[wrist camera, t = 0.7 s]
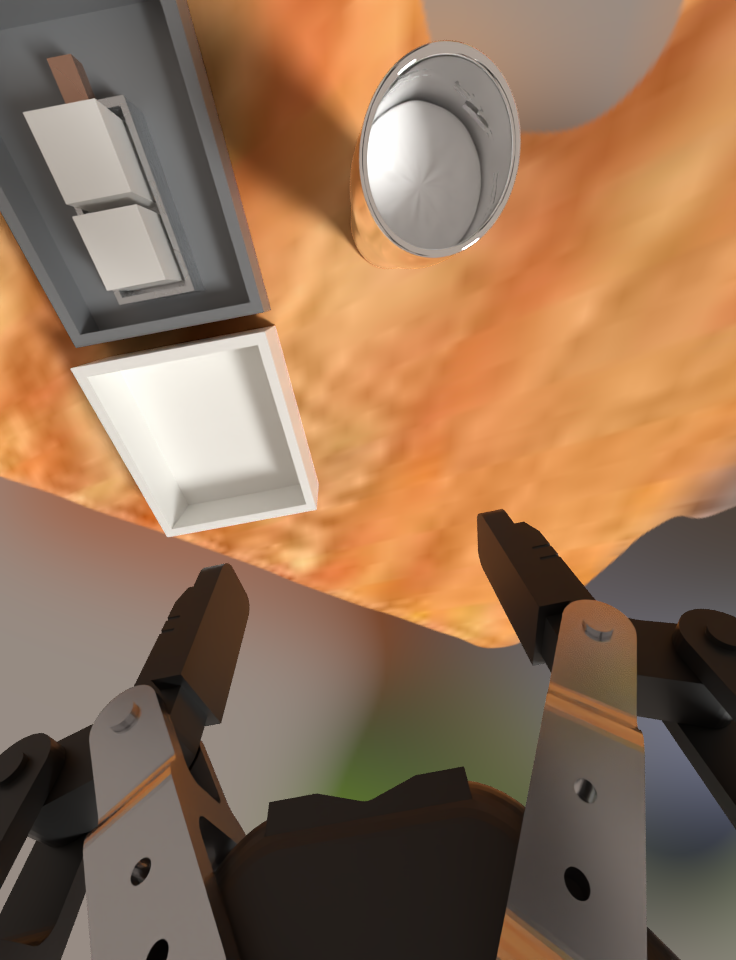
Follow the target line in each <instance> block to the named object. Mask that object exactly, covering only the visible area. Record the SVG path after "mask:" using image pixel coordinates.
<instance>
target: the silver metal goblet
mask: <svg viewBox="0 0 736 960" xmlns="http://www.w3.org/2000/svg"><path fill="white" fill-rule="evenodd" d="M520 149H521V132H520V122H519V116H518V110H517V106H516V102H515V100H514V96H513V94H512V91H511V89H510V86H509V84H508V82H507V80H506V79H505V77H504V76H503V74H502V72H501V71H500V69H499V68H498V67H497V66H496V64H495V63H494V62H493V61H492V60H491V59H490V58H489V57H488V56H487V55H485V54H484V53H483V52H481V51H480V50H478V49H477V48H475V47H473V46H471V45H468V44H465V43H462V42H458V41H450V40H445V41H444V40H443V41H435V42H431V43H427V44H424V45H422V46H419V47H417V48H415V49H414V50H412V51H410V52H409V53H407V54H406V55H405V56H403V57H402V58H401V59H400V60H399V61H398V62H397V63H395V64H394V66H393V67H392V68H391V69H390V70H389V71H388V72H387V74H386V75H385V76H384V78H383V79H382V81H381V82H380V84H379V85H378V87H377V89H376V91H375V93H374V95H373V97H372V99H371V101H370V103H369V106H368V109H367V112H366V115H365V118H364V122H363V125H362V127H361V130H360V133H359V136H358V139H357V142H356V146H355V150H354V154H353V159H352V164H351V171H350V204H351V220H350V223H351V232H352V237H353V240H354V243H355V245H356V247H357V249H358V251H359V252H360V254H361V255H362V256H363V257H364V258H365V259H366V260H367V261H368V262H369V263H371V264H372V265H374V266H376V267H379V268H383V269H395V268H403V269H420V268H426V267H430V266H433V265H436V264H438V263H441V262H443V261H445V260H447V259H449V258H451V257H453V256H454V255H456V254H458V253H460V252H462V251H464V250H466V249H467V248H469V247H471V246H472V245H473V244H475V243H476V242H477V241H479V240H480V239H481V238H482V237H483V236H484V235H485V234H486V233H487V232H488V231H489V230H490V228H491V227H492V226H493V225H494V223H495V222H496V221H497V219H498V218H499V216H500V214H501V213H502V211H503V209H504V207H505V206H506V204H507V201H508V199H509V197H510V194H511V192H512V189H513V186H514V183H515V179H516V175H517V171H518V166H519V159H520Z"/></svg>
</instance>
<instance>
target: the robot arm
mask: <svg viewBox="0 0 736 960" xmlns="http://www.w3.org/2000/svg"><path fill="white" fill-rule="evenodd" d="M477 531H478V554H479V558H480V562H481V565H482V568H483V570H484V572H485V574H486V576H487V578H488V580H489V582H490V583H491V585H492V587H493V589H494V591H495V593H496V595H497V597H498V599H499V601H500V603H501V605H502V607H503V609H504V611H505V613H506V615H507V617H508V619H509V621H510V623H511V624H512V626H513V628H514V630H515V632H516V634H517V636H518V638H519V640H520V642H521V644H522V646H523V648H524V650H525V652H526V654H527V656H528V657H529V659H530V662H531V663H532V665H539V664H544V663H546V665H547V666H548V668H549V670H550V672H551V678H550V683H549V689H548V692H547V697H546V702H545V707H544V712H543V718H542V723H541V728H540V733H539V739H538V744H537V749H536V755H535V760H534V765H533V770H532V776H531V781H530V786H529V791H528V797H527V802H526V807H524V806H523V805H522V804H521V803H519V802H518V801H517V800H515V799H513V798H512V797H510V796H508V795H507V794H506V793H504V792H502V791H499V790H497V789H495V788H493V787H491V786H488V785H485V784H481V783H478V782H472V781H468V780H467V776H466V772H465V769H464V767H458V768H453V769H447V770H442V771H437V772H431V773H426V774H421V775H415V776H414V777H412V778H410V779H408V780H406V781H405V782H403V783H401V784H399V785H397V786H395V787H394V788H392V789H390V790H388V791H387V792H385V793H383V794H381V795H379V796H377V797H376V798H374V799H372V800H369V801H357V800H351V799H345V798H340V797H334V796H328V795H322V794H312V795H306V796H301V797H296V798H290V799H285V800H279V801H274V802H270V803H269V809H268V817H267V820H266V821H265V822H263V823H261V824H260V825H259V826H257V827H256V828H254V829H253V830H252V831H251V832H250V833H248V834H247V835H246V834H245V832H244V831H243V829H242V827H241V825H240V824H239V822H238V821H237V819H236V818H235V816H234V814H233V813H232V811H231V809H230V807H229V805H228V803H227V800H226V798H225V795H224V793H223V790H222V788H221V785H220V783H219V781H218V778H217V775H216V773H215V770H214V768H213V766H212V763H211V761H210V758H209V756H208V753H207V751H206V748H205V746H204V744H203V742H202V741H201V737H202V733H203V730H204V726H209V725H215V724H220V723H221V721H222V717H223V713H224V710H225V706H226V702H227V698H228V694H229V690H230V686H231V682H232V678H233V674H234V670H235V667H236V663H237V659H238V654H239V651H240V647H241V643H242V639H243V635H244V631H245V628H246V623H247V620H248V616H249V600H248V597H247V594H246V592H245V590H244V588H243V586H242V584H241V583H240V581H239V579H238V577H237V575H236V573H235V572H234V570H233V568H232V566H231V565H230V564H228V563H226V564H221V565H216V566H211V567H206V568H203V569H202V570H201V572H200V573H199V576H198V578H197V580H196V582H195V584H194V587H189V588H188V589H187V590H186V591H185V592H184V593H183V594H182V595H181V597H180V598H179V599H178V600H177V601H176V602H175V604H174V606H173V608H172V610H171V612H170V615H169V616H168V621H166V622H165V624H164V627H163V628H162V633H161V634H159V637H158V639H157V641H156V643H155V645H154V647H153V649H152V651H151V653H150V655H149V657H148V659H147V661H146V663H145V665H144V667H143V669H142V671H141V673H140V675H139V677H138V679H137V681H136V683H135V685H134V687H132V688H129V689H127V690H125V691H124V692H122V693H120V694H119V695H118V696H116V697H115V698H114V699H113V700H112V701H110V702H109V704H107V706H106V707H105V708H104V709H103V710H102V711H101V713H100V714H99V715H98V717H97V718H96V720H95V722H94V724H92V725H90V726H88V727H86V728H84V729H82V730H80V731H78V732H76V733H74V734H72V735H70V736H68V737H66V738H64V739H62V740H60V741H58V742H56V741H55V740H54V739H52V738H51V737H49V736H48V735H46V734H44V733H38V734H33V735H30V736H28V737H25V738H23V739H21V740H20V741H18V742H16V743H15V744H13V745H12V746H11V747H9V748H8V749H7V750H5V751H4V752H3V753H2V754H1V755H0V889H1V887H2V885H3V883H4V881H5V879H6V877H7V875H8V873H9V871H10V869H11V867H12V865H13V863H14V861H15V859H16V857H17V855H18V853H19V852H20V850H21V848H22V846H23V844H24V842H25V840H26V838H27V836H28V837H30V838H32V839H34V840H36V842H35V844H34V846H33V848H32V851H31V853H30V854H29V856H28V858H27V861H26V863H25V865H24V867H23V869H22V871H21V873H20V875H19V877H18V879H17V881H16V883H15V885H14V887H13V889H12V891H11V893H10V895H9V897H8V899H7V901H6V903H5V905H4V907H3V909H2V911H1V913H0V960H61V957H62V955H63V952H64V949H65V947H66V944H67V941H68V938H69V936H70V933H71V931H72V928H73V925H74V922H75V920H76V917H77V914H78V912H79V909H80V906H81V904H82V901H83V898H84V895H85V893H86V897H87V909H88V922H89V935H90V947H91V960H680V959H679V958H678V957H677V956H676V955H675V954H674V953H673V952H672V951H671V950H670V949H669V948H668V947H667V946H666V945H665V944H664V943H663V942H662V941H661V940H660V939H659V938H658V937H657V936H656V935H655V934H654V933H653V932H652V931H651V930H650V929H649V928H648V927H647V921H646V920H647V916H646V841H645V840H646V838H645V837H646V833H645V752H644V739H643V734H642V732H641V730H639V729H638V727H637V716H640V717H646V718H652V719H658V720H662V722H663V723H664V724H665V726H666V727H667V729H668V730H669V731H670V733H671V735H672V736H673V738H674V739H675V741H676V742H677V744H678V745H679V747H680V748H681V750H682V751H683V752H684V754H685V755H686V757H687V758H688V760H689V761H690V763H691V764H692V766H693V767H694V769H695V770H696V772H697V773H698V775H699V776H700V777H701V779H702V780H703V781H704V783H705V785H706V786H707V788H708V789H709V791H710V792H711V794H712V795H713V797H714V798H715V800H716V801H717V803H718V804H719V805H720V807H721V808H722V810H723V811H724V813H725V814H726V816H727V817H728V819H729V820H730V821H731V823H732V824H733V826H734V828H735V829H736V618H735V617H734V616H731V615H729V614H726V613H723V612H719V611H715V610H709V609H694V610H690V611H687V612H685V613H684V614H683V615H682V616H681V618H680V619H679V622H678V624H674V623H664V622H653V621H643V620H635V619H630V618H627V617H626V616H625V615H624V614H623V613H622V612H620V611H619V610H618V609H616V608H614V607H612V606H610V605H608V604H606V603H603V602H600V601H596V600H595V599H594V598H593V597H592V595H591V594H590V593H589V592H588V590H587V589H586V588H585V587H584V585H583V584H582V583H581V582H580V581H579V579H578V578H577V577H576V576H575V574H574V573H573V572H572V571H571V569H570V568H569V567H568V566H567V565H566V563H565V562H564V561H563V560H562V558H561V557H559V556H558V553H557V552H556V551H555V550H554V549H553V547H552V546H550V544H549V542H548V541H547V540H546V539H545V537H544V536H543V535H542V534H541V533H540V531H538V530H537V529H535V528H533V527H532V526H530V525H528V524H527V523H525V522H520V523H515V524H514V523H513V521H512V520H511V519H510V517H509V516H508V514H507V513H506V512H505V511H504V510H503V509H500V510H495V511H490V512H485V513H480V514H478V516H477Z"/></svg>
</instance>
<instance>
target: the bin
mask: <svg viewBox="0 0 736 960" xmlns="http://www.w3.org/2000/svg"><path fill="white" fill-rule="evenodd" d="M70 369H71V371H72V373H73V374H74V376H75V378H76V379H77V381H78V383H79V385H80V386H81V388H82V390H83V392H84V393H85V395H86V397H87V399H88V400H89V402H90V404H91V406H92V407H93V409H94V411H95V412H96V414H97V416H98V418H99V419H100V421H101V423H102V425H103V426H104V428H105V430H106V432H107V433H108V435H109V437H110V438H111V440H112V442H113V444H114V445H115V447H116V449H117V451H118V452H119V454H120V456H121V458H122V459H123V461H124V463H125V465H126V466H127V468H128V470H129V471H130V473H131V475H132V477H133V478H134V480H135V482H136V484H137V485H138V487H139V489H140V491H141V492H142V494H143V496H144V497H145V499H146V501H147V503H148V504H149V506H150V508H151V510H152V511H153V513H154V515H155V517H156V518H157V520H158V522H159V524H160V525H161V527H162V529H163V530H164V532H165V534H166V536H167V537H172V536H177V535H183V534H188V533H193V532H199V531H204V530H210V529H215V528H220V527H226V526H231V525H237V524H242V523H247V522H253V521H258V520H264V519H269V518H274V517H280V516H285V515H291V514H296V513H301V512H307V511H312V510H317V499H318V487H319V483H318V480H317V476H316V472H315V469H314V465H313V461H312V458H311V454H310V450H309V447H308V443H307V439H306V436H305V432H304V428H303V425H302V421H301V417H300V414H299V410H298V406H297V403H296V399H295V395H294V392H293V388H292V384H291V381H290V377H289V373H288V370H287V366H286V363H285V359H284V355H283V352H282V348H281V344H280V341H279V337H278V333H277V330H276V326H275V325H274V326H269V327H264V328H258V329H253V330H248V331H243V332H237V333H232V334H227V335H222V336H216V337H211V338H206V339H200V340H195V341H190V342H185V343H179V344H174V345H169V346H164V347H158V348H153V349H148V350H142V351H137V352H132V353H127V354H121V355H116V356H111V357H107V358H103V359H100V360H97V361H93V362H90V363H87V364H83V365H80V366H77V367H73V368H70Z"/></svg>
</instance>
